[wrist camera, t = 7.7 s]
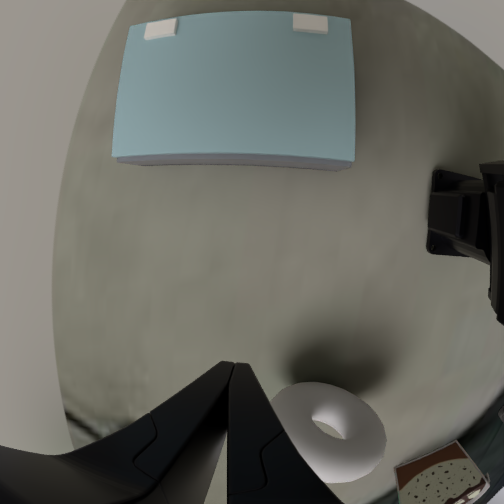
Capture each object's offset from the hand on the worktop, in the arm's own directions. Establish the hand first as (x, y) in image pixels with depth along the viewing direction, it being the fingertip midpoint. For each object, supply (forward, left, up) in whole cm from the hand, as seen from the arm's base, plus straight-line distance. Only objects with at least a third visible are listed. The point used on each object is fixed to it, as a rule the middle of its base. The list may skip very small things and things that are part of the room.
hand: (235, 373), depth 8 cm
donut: (-6, +11, -13) cm, 18 cm away
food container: (-24, +27, -13) cm, 39 cm away
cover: (+2, -12, -9) cm, 15 cm away
